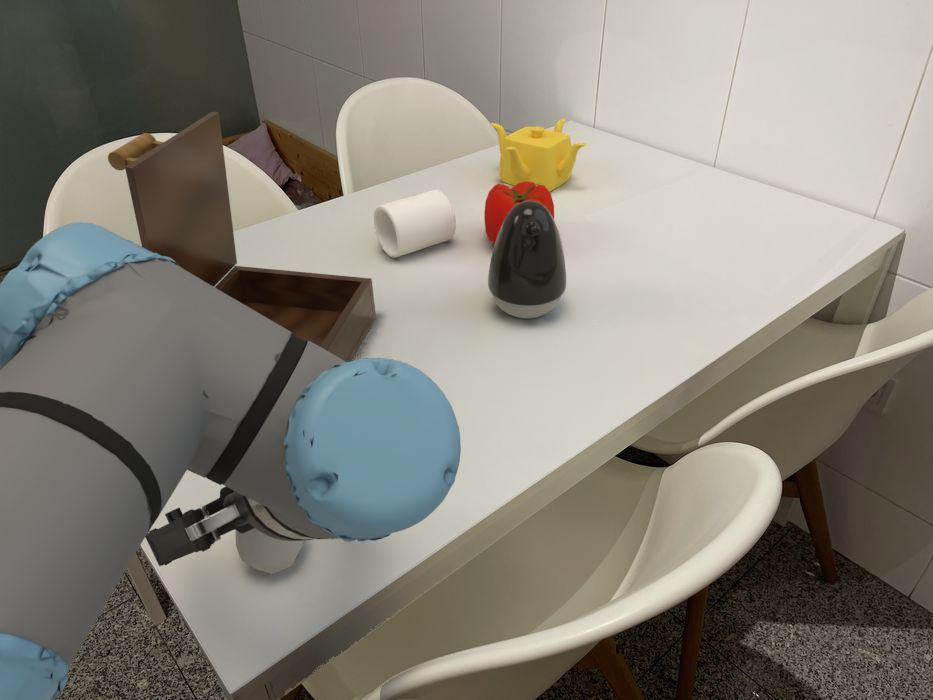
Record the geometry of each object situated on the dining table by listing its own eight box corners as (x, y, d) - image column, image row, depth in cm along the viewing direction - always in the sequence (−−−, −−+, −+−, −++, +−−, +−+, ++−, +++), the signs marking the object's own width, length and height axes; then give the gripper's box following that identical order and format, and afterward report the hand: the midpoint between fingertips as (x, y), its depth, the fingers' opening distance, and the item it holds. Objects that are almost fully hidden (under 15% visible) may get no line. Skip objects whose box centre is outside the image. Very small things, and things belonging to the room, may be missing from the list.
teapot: (490, 167, 134) (490, 117, 128) (561, 162, 135) (565, 112, 130) (505, 199, 122) (506, 145, 116) (583, 192, 124) (588, 139, 118)
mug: (457, 247, 108) (455, 199, 103) (401, 266, 103) (397, 217, 99) (417, 220, 116) (414, 174, 111) (364, 236, 112) (358, 189, 107)
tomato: (485, 261, 104) (484, 205, 99) (484, 225, 114) (483, 172, 109) (556, 260, 104) (560, 204, 99) (549, 224, 114) (552, 171, 108)
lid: (219, 112, 80) (164, 102, 81) (132, 168, 67) (67, 156, 67) (237, 263, 92) (189, 253, 93) (167, 335, 79) (111, 324, 79)
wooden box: (376, 317, 93) (371, 278, 89) (329, 399, 79) (322, 356, 76) (244, 303, 96) (235, 265, 92) (178, 379, 83) (164, 338, 79)
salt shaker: (317, 564, 61) (293, 459, 53) (253, 594, 59) (217, 488, 51) (295, 519, 65) (269, 415, 57) (234, 545, 63) (199, 440, 55)
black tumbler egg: (492, 332, 89) (492, 223, 80) (484, 290, 98) (484, 187, 89) (571, 327, 90) (580, 219, 81) (557, 286, 98) (563, 183, 89)
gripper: (140, 643, 36) (136, 610, 55) (483, 446, 47) (380, 476, 66) (77, 512, 36) (95, 524, 56) (434, 347, 47) (345, 405, 67)
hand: (250, 498), depth 61 cm, fingers open, 10 cm apart
